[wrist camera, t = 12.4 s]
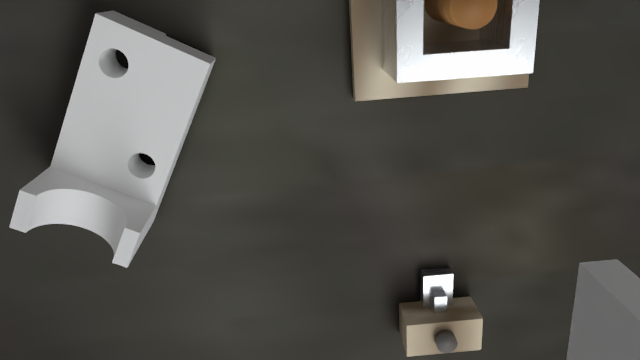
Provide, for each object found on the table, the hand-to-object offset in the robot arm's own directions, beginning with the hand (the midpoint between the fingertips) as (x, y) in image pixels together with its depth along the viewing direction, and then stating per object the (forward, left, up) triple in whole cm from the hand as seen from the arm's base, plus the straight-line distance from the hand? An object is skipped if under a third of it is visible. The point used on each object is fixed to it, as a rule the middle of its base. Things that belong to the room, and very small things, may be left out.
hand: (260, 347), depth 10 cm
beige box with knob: (+11, -20, -27) cm, 35 cm away
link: (+11, +5, -26) cm, 28 cm away
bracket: (-10, -1, -27) cm, 29 cm away
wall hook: (+11, -17, -27) cm, 34 cm away
